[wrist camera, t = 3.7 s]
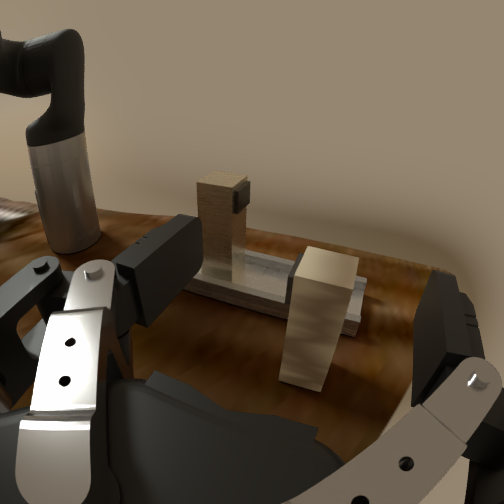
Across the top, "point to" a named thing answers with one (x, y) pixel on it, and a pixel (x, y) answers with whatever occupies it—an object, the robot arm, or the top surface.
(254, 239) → the top surface
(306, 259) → the beige tall rectangular block
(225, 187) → the rail
